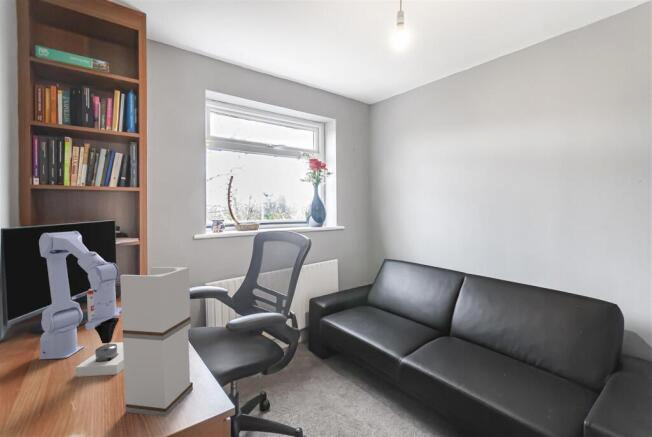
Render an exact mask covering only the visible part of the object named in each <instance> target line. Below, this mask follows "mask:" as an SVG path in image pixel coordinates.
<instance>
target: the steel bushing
mask: <svg viewBox="0 0 652 437" xmlns="http://www.w3.org/2000/svg"><path fill="white" fill-rule="evenodd" d="M94 352H95V353H94V354H96V362H106V361H111V360H112V359H114V358H115V357H117V345H116V344H110V343H106V344H104V345H101V346H99V347H97V348H96V349H95V350H94Z"/></svg>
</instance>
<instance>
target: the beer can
mask: <svg viewBox="0 0 652 437" xmlns="http://www.w3.org/2000/svg"><path fill="white" fill-rule="evenodd" d="M86 301H87V302H86V304H87V306H86V307H87V323H88V322H89V321H90V320H91V319H92V318H93V317H94V298H93V289H91V288H89V289H88V291H87V293H86Z"/></svg>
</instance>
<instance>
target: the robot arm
mask: <svg viewBox="0 0 652 437" xmlns="http://www.w3.org/2000/svg"><path fill="white" fill-rule="evenodd" d="M38 245H39V253H40V257H42V258H45V259H46V266H47V273H48V282H49V290H50V297H51V304H50V305H49V306H48V307H46V308H45V309H44V310H43V311H42V315H41V322H40V323H41V328H42V330H43V331H44V332H43V333H42V334H41V336H40V340H39V348H40V350H39V352H40V357H38V360H52V359H67V358H69V357H71V356H73V355H75V353H77V352H79V351H80V350H82V349H83V348H84V347H85V345H79V346H78V330H77V329H78V328H77V327H79V326H80V323H81V322H82V321H83V318H84V315H83V314H84V313H83V311H82V309H81V306H80V303H79V302H76V301H74V300H72V299H71V289H70V283H69V277H68V276H69V274H68V267H67V260H66V258H67V257H68V256H69V255H70V254H71V255H73V256H74V257H75V258H77V264H78V265H79V266H80V268H82V269H83V270H84V271H85V272H86V273H87V279H88V281H89V284H90V289H93V298H94V317H93V318H92V319H91V320H90V321H89V322H88V321H87V322H86V323H85V330H86V331H90V330H91V331H92V330H95V331H96V333H97V334H98V336H99V339H100V340H101V343H102V344H110V343H112V340H113V335H114V332H115V330H116V327H117V324H118V323H119V321H120V318H119V317H120V316H121V314H122V306H117V297H116V296H117V294H116V293H117V292H116V280H117V279H119V278H120V268H119V267H118V265H117V264H116V263H115V262H109V261H106V260H104V258H103V257H101V256H100V255H99V254H98V253H97V252H96V251H89V249H88V248H87V246H85V244H84V243H83V236H82V234H81V233H80V232H79V231H77V230H73V231H62V232H61V231H59V232H43V233H42V234H41V235H40V238H39V240H38Z"/></svg>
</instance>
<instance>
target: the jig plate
mask: <svg viewBox="0 0 652 437" xmlns="http://www.w3.org/2000/svg"><path fill="white" fill-rule="evenodd" d="M109 344H116V345H117V357H115V358H114V359H112V360H111V361H106V362H96V354H95V353H94V354H92V355H91V356H90V357H88V358H86V360H84V361H83V362H81V363H80V364H78V365H77V366H76V367H75V377H76V378H79V377H80V378H81V377H94V376H95V377H96V376H110V375H111V376H113V375H118V374H120V372H122V371H124V354H123V341H121V342H120V341H119V342H109Z"/></svg>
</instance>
